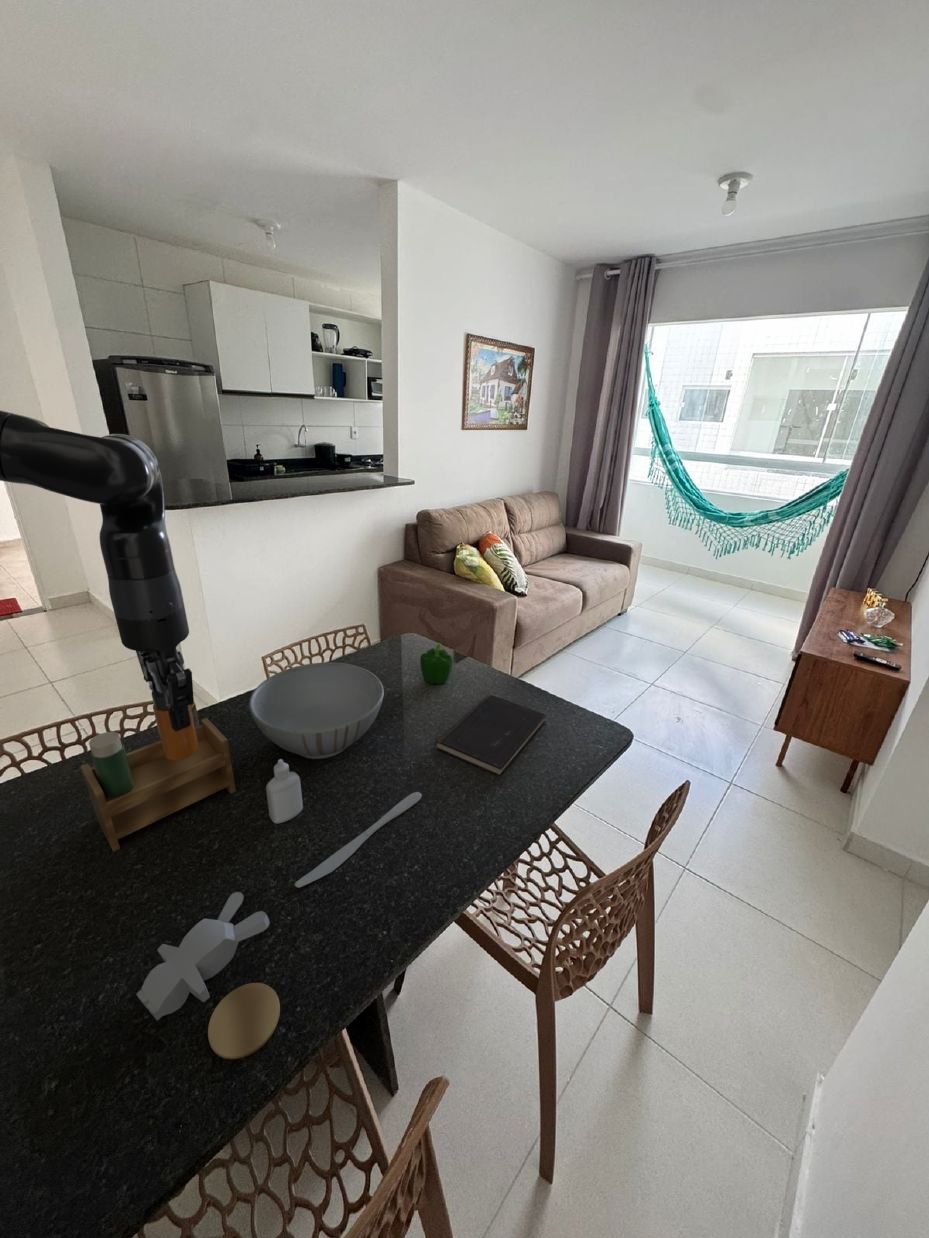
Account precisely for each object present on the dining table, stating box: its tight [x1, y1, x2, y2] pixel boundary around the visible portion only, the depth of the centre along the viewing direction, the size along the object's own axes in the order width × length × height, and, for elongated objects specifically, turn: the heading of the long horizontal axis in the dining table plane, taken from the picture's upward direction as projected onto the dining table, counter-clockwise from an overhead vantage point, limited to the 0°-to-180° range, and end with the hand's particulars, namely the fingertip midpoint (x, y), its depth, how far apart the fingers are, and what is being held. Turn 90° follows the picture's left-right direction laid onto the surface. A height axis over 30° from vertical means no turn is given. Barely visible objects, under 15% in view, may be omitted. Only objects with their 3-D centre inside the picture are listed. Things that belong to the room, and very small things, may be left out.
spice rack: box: [80, 717, 237, 853], centre depth 90 cm, size 20×9×12 cm, turn 136°
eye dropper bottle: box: [265, 758, 304, 825], centre depth 89 cm, size 4×6×12 cm
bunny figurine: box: [136, 891, 270, 1022], centre depth 66 cm, size 10×5×15 cm
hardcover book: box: [435, 693, 547, 778], centre depth 115 cm, size 16×23×2 cm
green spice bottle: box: [88, 731, 134, 798], centre depth 82 cm, size 4×4×10 cm
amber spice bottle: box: [151, 683, 199, 760], centre depth 71 cm, size 4×4×10 cm
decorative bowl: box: [248, 661, 385, 760], centre depth 109 cm, size 27×27×12 cm
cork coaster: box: [207, 982, 281, 1060], centre depth 62 cm, size 8×8×1 cm
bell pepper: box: [419, 642, 453, 685], centre depth 135 cm, size 8×8×10 cm
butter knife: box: [294, 791, 423, 888], centre depth 88 cm, size 1×27×3 cm
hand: (174, 719), depth 70 cm, fingers closed on amber spice bottle, 4 cm apart
